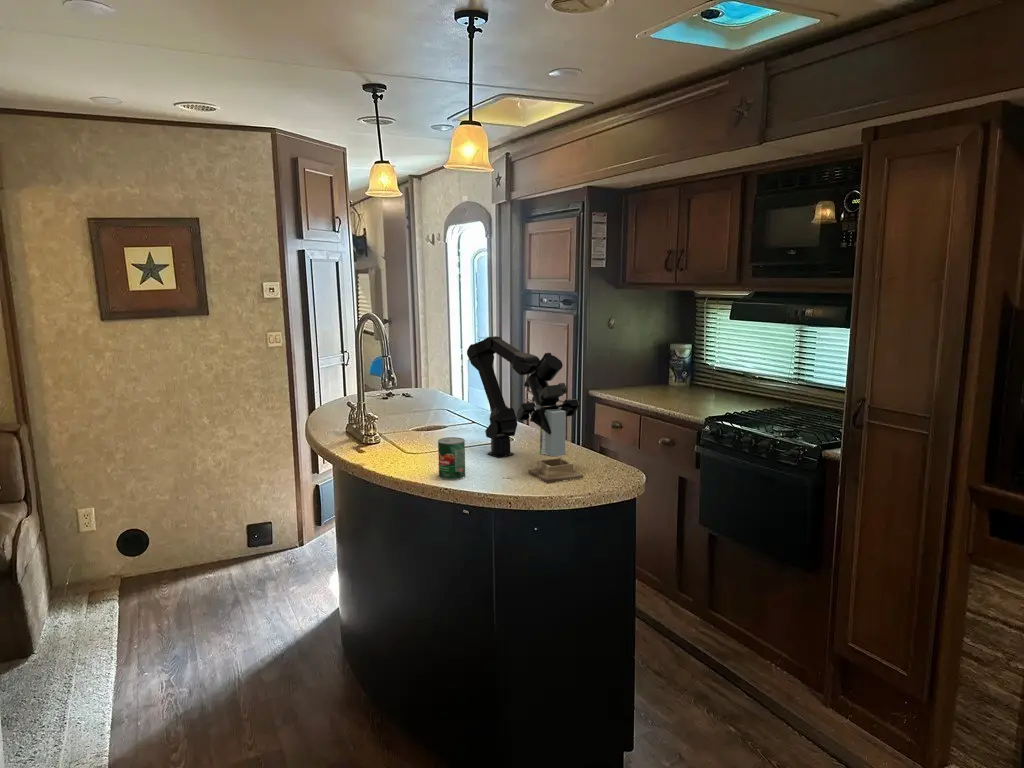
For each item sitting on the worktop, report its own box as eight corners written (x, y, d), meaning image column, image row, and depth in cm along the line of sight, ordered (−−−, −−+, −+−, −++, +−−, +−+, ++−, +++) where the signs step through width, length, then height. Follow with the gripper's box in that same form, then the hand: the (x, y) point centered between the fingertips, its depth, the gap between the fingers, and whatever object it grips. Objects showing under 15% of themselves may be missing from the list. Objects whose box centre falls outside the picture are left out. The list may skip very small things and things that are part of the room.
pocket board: (528, 472, 206) (528, 460, 206) (563, 468, 211) (563, 455, 211) (546, 483, 195) (546, 469, 195) (582, 478, 200) (583, 465, 200)
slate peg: (545, 453, 203) (545, 410, 201) (558, 451, 205) (558, 408, 203) (551, 456, 199) (552, 412, 197) (565, 454, 201) (565, 411, 199)
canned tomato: (468, 473, 206) (468, 437, 204) (460, 481, 198) (459, 444, 196) (444, 471, 208) (443, 436, 206) (434, 479, 200) (433, 442, 198)
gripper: (520, 375, 199) (537, 420, 190) (577, 372, 206) (595, 414, 198) (509, 398, 207) (525, 441, 199) (564, 394, 214) (581, 435, 206)
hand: (557, 433), depth 200 cm, fingers closed on slate peg, 4 cm apart
